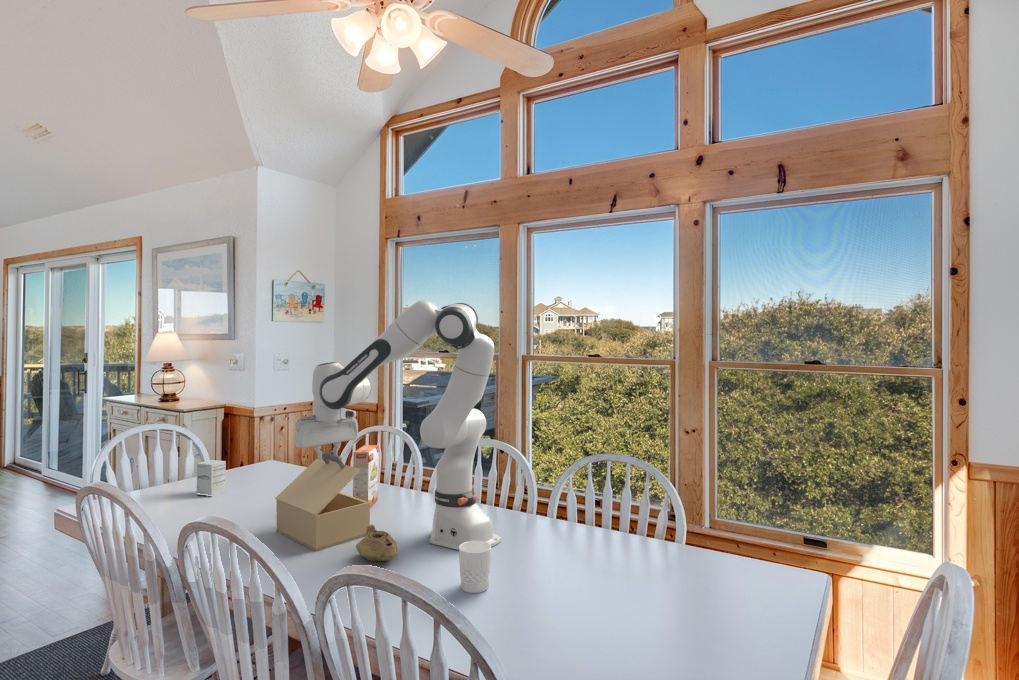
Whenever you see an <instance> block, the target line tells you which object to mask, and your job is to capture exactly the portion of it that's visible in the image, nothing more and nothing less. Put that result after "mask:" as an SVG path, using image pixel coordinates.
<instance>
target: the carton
mask: <svg viewBox="0 0 1019 680" xmlns="http://www.w3.org/2000/svg"><path fill="white" fill-rule="evenodd" d="M370 509H371V507H370V502H367V501H364V500H361V499H358V498H355V497H353V495H352V496H351V495H349V494H346V493H343V492H341V491H340V492H339V493H338V494H337V495H336V496H335V497H334V498H333V499H332V500H331V501H330V502H329V503H328V505H327V506H326V507H325V508H324V509H323V510H322V511H321V512H320V513H319V514H318V515H317V516H314V515H312V514H310V513H307V512H305V511H302V510H300V509H297V508H295V507H293V506H290V505H288V504H285V503H283V502H280V501H278V500H276V523H275V524H276V526H275V527H276V533H278V534H280V535H282V536H284V537H286V538H288V539H291V540H292V541H294V542H296V543H299V544H301V545H302V546H305V547H306V548H309V549H311V550H312V551H315V552H319V551H321V550H324V549H328V548H332V547H334V546H337V545H338V546H339V545H340V544H344V543H347V542H352V541H353V540H358V539H361V538H364V537H365V535H366V531H367V527H368V526H369V525H371V524H370V523H371V522H370V521H371V519H370V518H371V516H370V515H371V514H370V513H371V512H370V511H371V510H370Z"/></svg>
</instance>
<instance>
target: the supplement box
mask: <svg viewBox="0 0 1019 680" xmlns="http://www.w3.org/2000/svg"><path fill="white" fill-rule="evenodd" d="M226 466H227V463H226V460H216V459H208V460H204V461H201V462H197V463H196V494H197V493H200V494H208V495H212V494H216V493H219V492H222V491H225V492H226V479H227V478H226V477H227V474H226V473H227V472H226Z"/></svg>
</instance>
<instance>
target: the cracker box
mask: <svg viewBox="0 0 1019 680" xmlns="http://www.w3.org/2000/svg"><path fill="white" fill-rule="evenodd" d="M379 448H380V446H379V445H377V444H364V445H362V446H361V447H359V448H358V449H357V450H355V451H354V452H353V466H352V467H355V468H359V469H360V472H359V473H358V474H357V475H356V476H355V477H354V478H353V479H352V497H355V498H358V499H361V500H364V501H367V502H370V508H372V507H373V505H374V504H375V503H376V502H377V501H378V499H379V456H380V455H379V450H380V449H379Z"/></svg>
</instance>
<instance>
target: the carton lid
mask: <svg viewBox="0 0 1019 680" xmlns="http://www.w3.org/2000/svg"><path fill="white" fill-rule="evenodd" d="M321 452H322V453H325V456H324V457H325V458H324V459H321V460H319V459H318V458H315V460H313V462H311V464H310V465H308V466H307V467H306V468H305V469H304V470H303V471H301V473H300V474H299V475H298V476H297V477H296V478H295V479H293V480H292V482H290V484H288V485H287V486H286V487H285V488H284V489H283V490H282V491H281V492H280V493H279V494H277V496H275V500H276V501H277V500H278V501H280V502H283V503H285V504H288V505H290V506H293V507H295V508H297V509H300V510H302V511H305V512H307V513H310V514H312V515H314V516H317V515H318V514H319V513H320V512H321V511H322V510H323V509H324V508H325V507H326V506H327V505H328V503H329V502H330V501H331V500H332V499H333V498H334V497H335V496H336V495H337V494H338V493H339V492H340V493H341V491H342V490H343V489H344V488H345V487H346V486H347V485H348V484H349V483H350V482H351V481H353V478H354V477H355V476H356V475H357V474H358V473H359V472H360V469H359V468H355V467H353V466H351V465H347V464H345V463H343V461H342V460H343V459H342V456H341V455H334V454H331V452H330V453H329V452H326V451H322V450H321Z"/></svg>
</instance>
